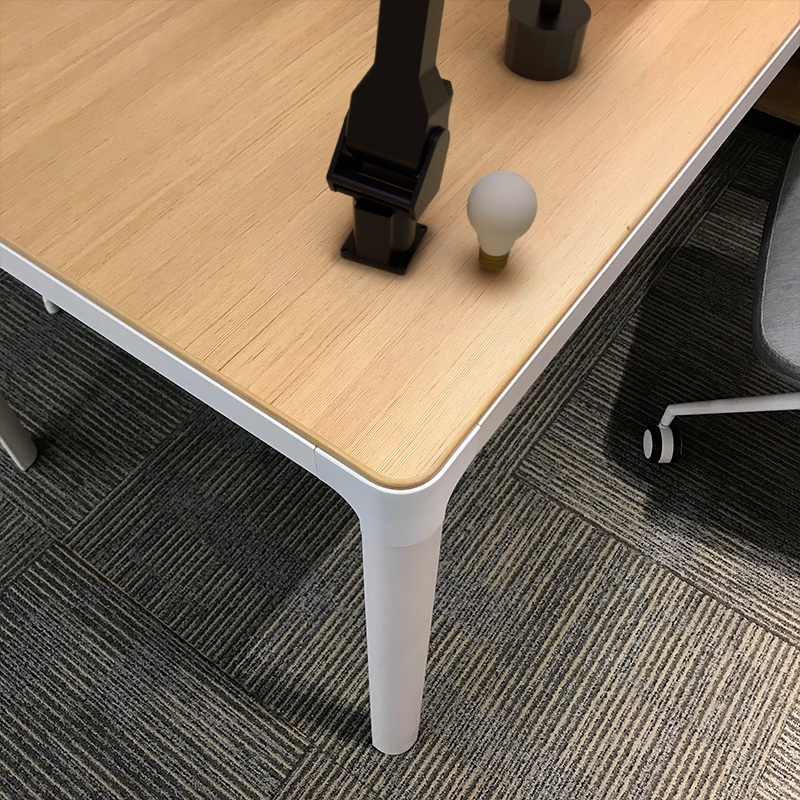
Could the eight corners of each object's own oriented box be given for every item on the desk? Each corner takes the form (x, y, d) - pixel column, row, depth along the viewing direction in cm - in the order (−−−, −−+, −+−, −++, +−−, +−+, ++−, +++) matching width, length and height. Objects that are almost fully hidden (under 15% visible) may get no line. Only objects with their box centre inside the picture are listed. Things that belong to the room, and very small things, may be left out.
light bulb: (449, 252, 71) (459, 163, 63) (507, 238, 73) (523, 149, 64) (475, 297, 68) (488, 210, 60) (534, 280, 69) (555, 193, 61)
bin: (567, 88, 87) (578, 41, 82) (493, 70, 88) (499, 23, 84) (585, 48, 92) (596, 2, 87) (514, 32, 93) (521, -14, 89)
